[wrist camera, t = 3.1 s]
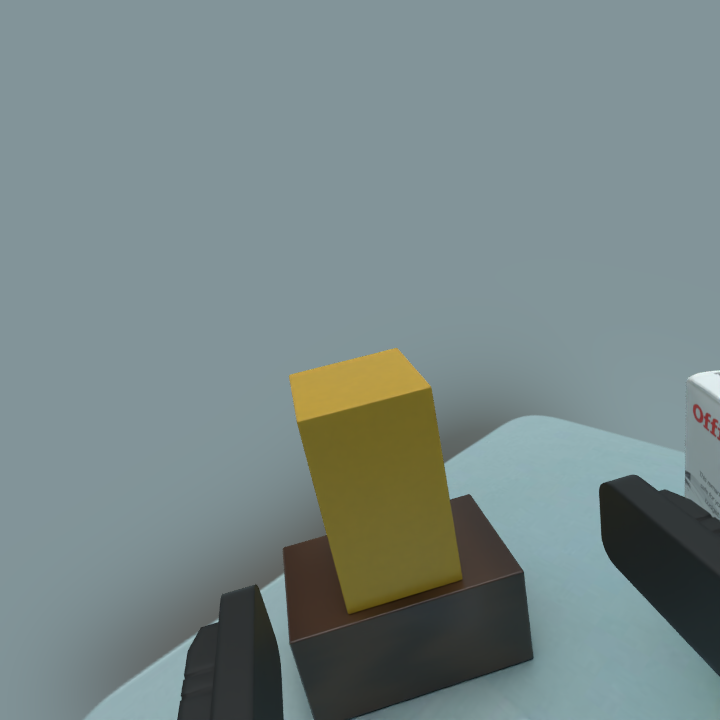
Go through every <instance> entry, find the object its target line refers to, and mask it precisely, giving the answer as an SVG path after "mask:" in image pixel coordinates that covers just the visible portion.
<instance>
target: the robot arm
mask: <svg viewBox="0 0 720 720" xmlns="http://www.w3.org/2000/svg"><path fill="white" fill-rule="evenodd" d="M599 498H600V517H601V536H602V542H603V545H604V548H605V551H606V553H607V555H608V557H609V558H610V560H611V561H612V563H613V564H614V565H615V566H616V568H617V569H618V570H619V571H620V572H621V573H622V574H623V575H624V576H625V577H626V578H627V579H628V580H629V581H630V582H631V583H632V584H633V586H634V587H635V588H636V589H637V590H638V591H639V592H640V593H641V594H642V595H643V596H644V597H645V598H646V599H647V600H648V601H649V602H650V603H651V605H652V606H653V607H654V608H655V609H656V610H657V611H658V612H659V613H660V614H661V615H662V616H663V617H664V618H665V619H666V620H667V621H668V623H669V624H670V625H671V626H672V627H673V628H674V629H675V630H676V631H677V632H678V633H679V634H680V635H681V636H682V637H683V638H684V639H685V640H686V642H687V643H688V644H689V645H690V646H691V647H692V648H693V649H694V650H695V651H696V652H697V653H698V654H699V655H700V656H701V657H702V658H703V660H704V661H705V662H706V663H707V664H708V665H709V666H710V667H711V668H712V669H713V670H714V671H715V672H716V673H717V674H718V675H719V676H720V520H718V519H717V518H716V517H712V516H711V514H710V513H709V512H707V511H706V510H704V509H703V508H702V507H700V506H699V505H698V504H696V503H695V502H693V501H692V500H691V499H688V498H685V497H683V496H680V495H678V494H675V493H673V492H670V491H668V490H661V491H658V490H656V489H655V488H654V487H652V486H651V485H650V484H648V483H647V482H646V481H644V480H643V479H642V478H640V477H639V476H637V475H629V476H626V477H622V478H619V479H615V480H612V481H609V482H605V483H603V484H601V485H600V489H599ZM184 677H185V680H183V686H182V693H181V697H182V700H181V701H180V706H179V712H178V719H177V720H284V719H283V698H282V677H281V663H280V656H279V650H278V645H277V641H276V637H275V634H274V631H273V628H272V625H271V622H270V619H269V616H268V613H267V611H266V608H265V605H264V602H263V599H262V596H261V593H260V590H259V588H258V586H257V585H252V586H249V587H245V588H242V589H239V590H235V591H232V592H228V593H225V594H222V596H221V602H220V612H219V622H218V623H214V624H211V625H208V626H205V627H201V628H200V630H199V632H198V634H197V636H196V637H195V639H194V641H193V643H192V645H191V646H190V648H189V650H188V653H187V660H186V666H185V673H184Z"/></svg>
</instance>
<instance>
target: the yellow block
mask: <svg viewBox="0 0 720 720" xmlns="http://www.w3.org/2000/svg"><path fill="white" fill-rule="evenodd" d="M289 379H290V384H291V390H292V396H293V402H294V408H295V414H296V419H297V424H298V428H299V432H300V436H301V440H302V443H303V447H304V451H305V454H306V458H307V462H308V466H309V470H310V473H311V477H312V481H313V485H314V488H315V492H316V496H317V499H318V503H319V507H320V511H321V515H322V518H323V522H324V526H325V530H326V533H327V537H328V541H329V545H330V549H331V552H332V556H333V560H334V564H335V567H336V571H337V575H338V579H339V582H340V586H341V590H342V594H343V597H344V601H345V605H346V609H347V613H348V614H352V613H355V612H359V611H362V610H365V609H369V608H372V607H375V606H378V605H382V604H385V603H388V602H391V601H395V600H398V599H401V598H404V597H408V596H411V595H414V594H418V593H421V592H424V591H427V590H431V589H434V588H437V587H440V586H444V585H447V584H450V583H454V582H457V581H460V580H462V579H463V577H462V571H461V565H460V559H459V553H458V547H457V541H456V535H455V528H454V522H453V516H452V510H451V504H450V498H449V492H448V486H447V480H446V473H445V467H444V461H443V455H442V449H441V443H440V437H439V431H438V425H437V419H436V413H435V406H434V400H433V394H432V389H431V386H430V385H429V384H428V383H427V382H426V381H425V379H424V378H423V377H422V376H421V375H420V374H419V372H418V371H417V370H416V369H415V368H414V367H413V366H412V365H411V363H410V362H409V361H408V360H407V359H406V358H405V356H404V355H403V354H402V353H401V352H400V351H399V350H398V349H397V348H394V349H391V350H387V351H383V352H379V353H375V354H371V355H367V356H363V357H359V358H355V359H351V360H347V361H343V362H339V363H335V364H331V365H327V366H323V367H319V368H315V369H311V370H307V371H303V372H299V373H295V374H292V375H289Z"/></svg>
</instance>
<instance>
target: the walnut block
mask: <svg viewBox="0 0 720 720" xmlns="http://www.w3.org/2000/svg"><path fill="white" fill-rule="evenodd" d="M450 504H451V510H452V516H453V522H454V528H455V535H456V541H457V547H458V553H459V559H460V565H461V571H462V577H463V579H462V580H460V581H457V582H454V583H450V584H447V585H444V586H440V587H437V588H434V589H431V590H427V591H424V592H421V593H418V594H414V595H411V596H408V597H404V598H401V599H398V600H395V601H391V602H388V603H385V604H382V605H378V606H375V607H372V608H369V609H365V610H362V611H359V612H355V613H352V614H348V613H347V609H346V605H345V601H344V597H343V594H342V590H341V586H340V582H339V579H338V575H337V571H336V567H335V564H334V560H333V556H332V552H331V549H330V545H329V541H328V537H327V535H326V536H322V537H319V538H315V539H312V540H308V541H305V542H302V543H298V544H294V545H291V546H287V547H284V548H283V559H284V574H285V588H286V601H287V615H288V629H289V643H290V647H291V650H292V653H293V656H294V659H295V662H296V665H297V668H298V671H299V674H300V678H301V681H302V684H303V687H304V690H305V693H306V696H307V699H308V702H309V705H310V708H311V712H312V715H313V718H314V720H347V719H350V718H353V717H356V716H359V715H362V714H365V713H368V712H371V711H374V710H377V709H380V708H383V707H386V706H389V705H392V704H396V703H399V702H402V701H405V700H408V699H411V698H414V697H417V696H420V695H423V694H426V693H429V692H432V691H435V690H438V689H441V688H444V687H447V686H450V685H453V684H456V683H460V682H463V681H466V680H469V679H472V678H475V677H478V676H481V675H484V674H487V673H490V672H493V671H496V670H499V669H502V668H505V667H508V666H511V665H514V664H517V663H520V662H524V661H527V660H530V659H532V658H533V650H532V641H531V632H530V623H529V614H528V605H527V597H526V588H525V579H524V571H523V570H522V568H521V567H520V565H519V564H518V563H517V561H516V560H515V558H514V557H513V555H512V554H511V553H510V551H509V550H508V548H507V547H506V545H505V544H504V542H503V541H502V540H501V538H500V537H499V535H498V534H497V532H496V531H495V530H494V528H493V527H492V525H491V524H490V522H489V521H488V519H487V518H486V517H485V515H484V514H483V512H482V511H481V509H480V508H479V507H478V505H477V504H476V502H475V501H474V499H473V498H472V496H471V495H470V494H468V495H465V496H461V497H458V498H454V499H451V500H450Z"/></svg>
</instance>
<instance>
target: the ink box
mask: <svg viewBox="0 0 720 720" xmlns="http://www.w3.org/2000/svg"><path fill="white" fill-rule="evenodd" d="M685 446H686V447H685V448H686V449H685V498H688V499H691V500H692V501H693V502H695V503H696V504H698V505H699V506H700V507H702V508H703V509H704V510H706V511H707V512H709V513H710V514H711V516H712V517H716V518H717V519H718V520H720V370H718V371H710V372H701V373H697V374H695V375H693V376H690V377H689V378H687V380H686V441H685Z"/></svg>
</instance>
